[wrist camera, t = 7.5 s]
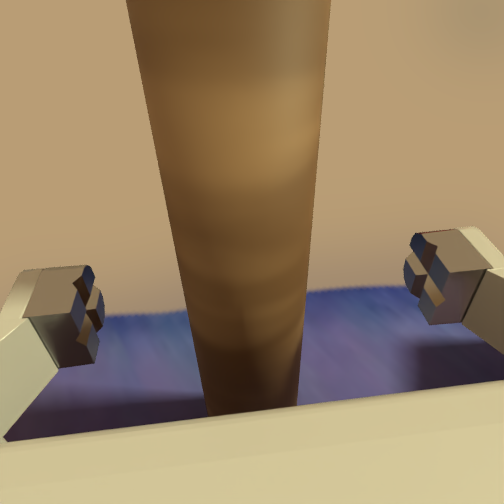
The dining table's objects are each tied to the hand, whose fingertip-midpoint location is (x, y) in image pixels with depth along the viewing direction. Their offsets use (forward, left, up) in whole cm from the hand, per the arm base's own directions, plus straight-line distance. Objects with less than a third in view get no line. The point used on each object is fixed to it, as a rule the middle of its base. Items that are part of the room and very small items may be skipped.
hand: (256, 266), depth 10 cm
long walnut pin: (0, 0, -9) cm, 9 cm away
